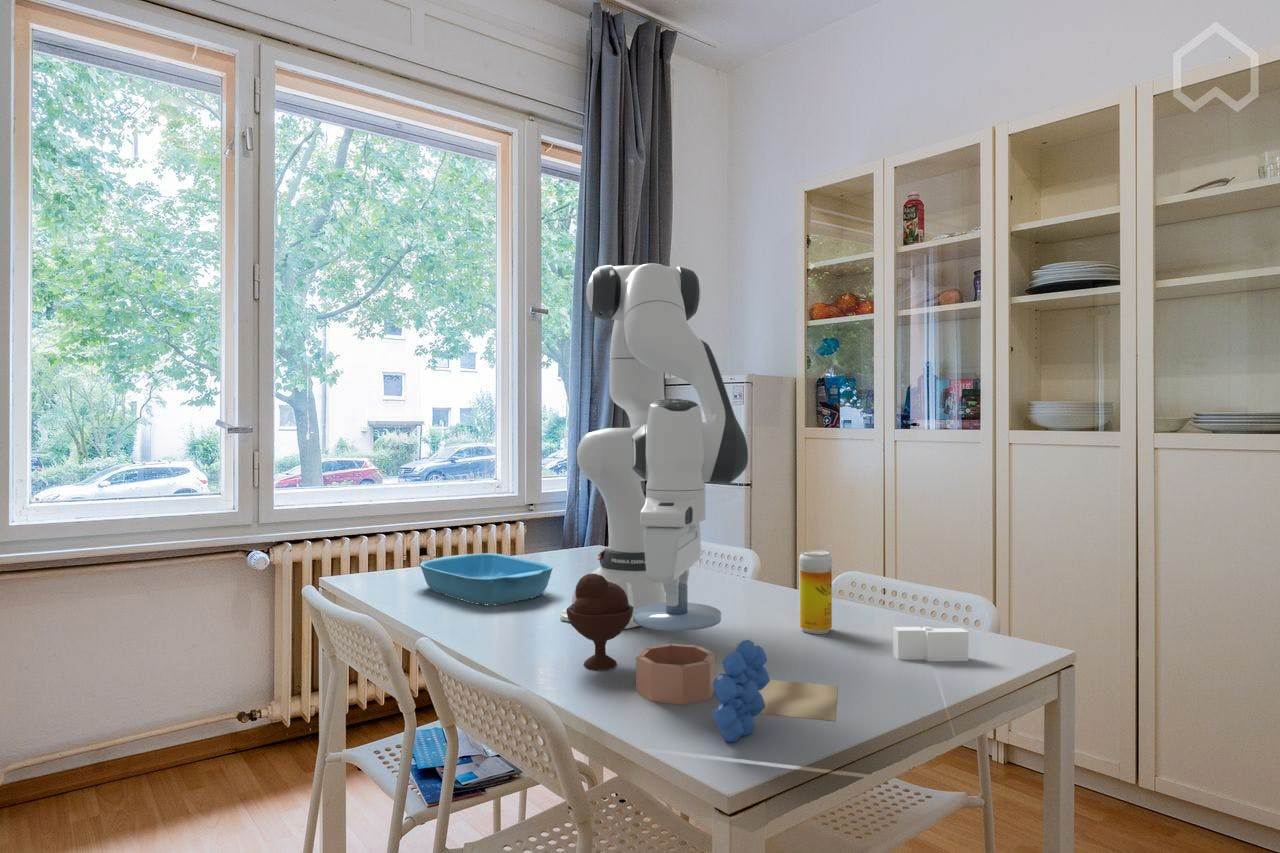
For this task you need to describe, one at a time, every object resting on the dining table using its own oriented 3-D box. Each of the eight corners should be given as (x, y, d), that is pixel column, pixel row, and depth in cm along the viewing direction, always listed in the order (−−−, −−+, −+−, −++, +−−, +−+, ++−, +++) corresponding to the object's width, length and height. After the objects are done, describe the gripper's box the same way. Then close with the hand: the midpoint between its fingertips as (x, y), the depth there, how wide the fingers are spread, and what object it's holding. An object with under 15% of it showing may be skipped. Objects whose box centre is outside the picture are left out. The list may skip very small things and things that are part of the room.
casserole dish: (405, 588, 187) (405, 559, 186) (484, 575, 202) (484, 548, 202) (485, 615, 160) (485, 581, 160) (570, 598, 175) (570, 567, 175)
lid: (622, 627, 108) (621, 592, 108) (646, 606, 121) (645, 575, 121) (712, 633, 105) (712, 596, 105) (727, 611, 117) (727, 578, 117)
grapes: (735, 714, 104) (735, 627, 104) (780, 726, 100) (780, 635, 100) (688, 743, 95) (688, 647, 95) (735, 757, 91) (735, 657, 91)
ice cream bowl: (580, 679, 119) (580, 583, 118) (559, 659, 129) (559, 570, 129) (643, 670, 123) (643, 577, 123) (617, 651, 133) (617, 566, 133)
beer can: (832, 635, 143) (832, 555, 143) (799, 633, 144) (799, 554, 144) (830, 627, 149) (830, 550, 149) (799, 625, 150) (798, 549, 150)
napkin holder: (982, 659, 130) (982, 626, 130) (964, 677, 121) (964, 641, 121) (894, 644, 139) (893, 613, 139) (871, 660, 130) (871, 626, 130)
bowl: (629, 701, 109) (629, 663, 109) (650, 676, 120) (650, 641, 120) (705, 709, 106) (705, 669, 106) (719, 683, 117) (719, 647, 117)
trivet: (729, 713, 105) (729, 710, 105) (744, 680, 118) (744, 677, 118) (834, 723, 101) (834, 720, 101) (837, 688, 114) (837, 685, 114)
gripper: (671, 501, 124) (672, 586, 124) (636, 515, 104) (637, 616, 104) (709, 502, 122) (710, 588, 122) (681, 516, 102) (682, 619, 102)
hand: (676, 601), depth 113 cm, fingers closed on lid, 3 cm apart
